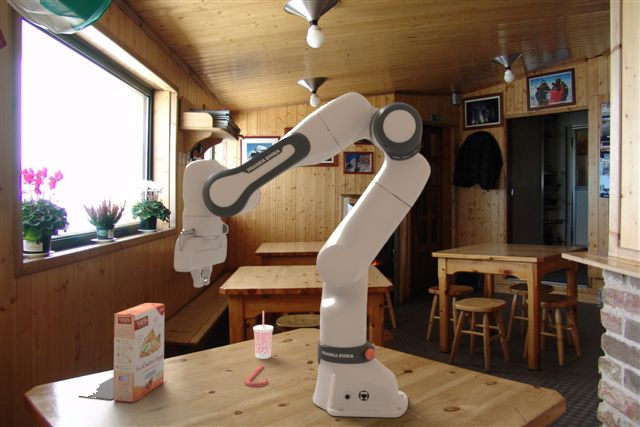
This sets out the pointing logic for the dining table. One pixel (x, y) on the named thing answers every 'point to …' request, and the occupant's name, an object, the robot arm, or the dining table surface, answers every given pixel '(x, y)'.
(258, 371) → the candy cane
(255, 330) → the beverage cup
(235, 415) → the dining table surface
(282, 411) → the dining table surface
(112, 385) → the rubber mat
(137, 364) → the cracker box
